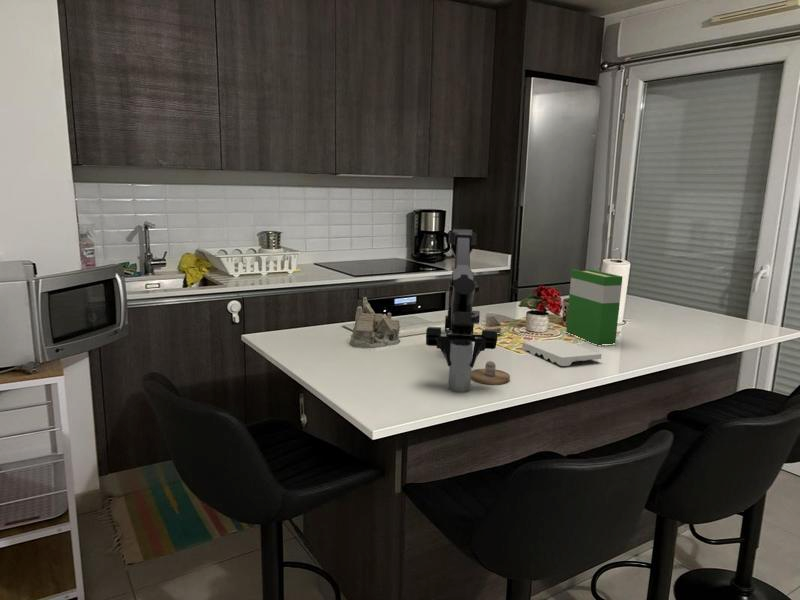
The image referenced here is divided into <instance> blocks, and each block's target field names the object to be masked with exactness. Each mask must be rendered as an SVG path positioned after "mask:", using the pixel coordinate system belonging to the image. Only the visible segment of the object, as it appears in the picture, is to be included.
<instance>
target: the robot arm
mask: <svg viewBox="0 0 800 600" xmlns="http://www.w3.org/2000/svg"><path fill="white" fill-rule="evenodd" d="M448 233H449V234H448V235H449V236H448V245H450V250H451V252H452V254H453V256H454V270H453V271H452V272H451V279H448V293H450V295H451V296H452V297H451V298H452V299H451V305H450V307H449V308H448V309H447V310H448V311H447V315H445V318H444V331H443V330H442V327H440V326H439V327H438V326H437V327H436V326H435V327H434V326H428V327H427V328H426V331H425V332H426V333H425V345H426V346H431V347H436V349H439V350H440V352H441V353H442V355H443V357H444V358H445V362H446V364H447V366H448V367H449V366H450V347H451V341H453V340H467V341H470V342H472V343H473V344H474V345H473V350H472V365H471V369H472V368H474V366H475V363H476V361H477V358H478V357H479V354H480V353H481V352H485V350H486V349H487V350H494V349H496V347H497V343H498V334H497V332H496V331H495V330H485V329H482V330H481V334H474V327H475V326H474V325H479V324H480V310H473V302H474V299H475V298H474V297H475V294H477V293H478V292H479V290H480V287H479V285H478V283H477V280H475V274H474V272H473V270H471V265H470V264H471V262H470V261H471V258H470V257H471V253H472V251H473V249H474V246H475V245H477V233H475V232H473V229H460V228H458V229H457V228H453V230H452V231H450V232H448Z"/></svg>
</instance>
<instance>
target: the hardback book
mask: <svg viewBox="0 0 800 600" xmlns="http://www.w3.org/2000/svg"><path fill="white" fill-rule="evenodd" d="M570 273H571V274H570V275H571V276H570V285H569V287H570V288H569V295H568V296H569V297H568V306H567V317H566V329H565V333H566V332H568V333H570V334H573V335H576V336H578V337H580V338H583V339H585V340H587V341H589V342H591V343H594V344H597V345H602V344H613V343H615V344H616V342H617V332H618V323H619V312H620V304H621V295H622V285H623V276H621V275H617V274H613V273H609V272H603V271H600V270H595V269H590V268H586V270H578V269H575V268H574V269H573V268H572V269H571V272H570ZM591 343H590V344H591Z"/></svg>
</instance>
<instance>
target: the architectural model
mask: <svg viewBox="0 0 800 600" xmlns="http://www.w3.org/2000/svg"><path fill="white" fill-rule="evenodd" d="M482 327H483V329H484V330H495V331H496V332H497V333H500V334H499V335H501V333H502V332H501V331H502V329H503V328H504V326H502V323H501V322H500V321H499V314H492V315H491V314H490V315H486V316H485V325H484V326H482Z"/></svg>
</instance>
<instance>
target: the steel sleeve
mask: <svg viewBox="0 0 800 600" xmlns="http://www.w3.org/2000/svg"><path fill="white" fill-rule="evenodd" d="M473 344H474V342H470V341H467V340H453V341H451V347H450V366H448V368H449V369H448V384H447V385H448V388H447V389H448V390H449V391H452V392H454V393H467V392H470V391H471V380H472V379H471V371H472V368H471V365H472V356H473V350H474V345H473Z"/></svg>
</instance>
